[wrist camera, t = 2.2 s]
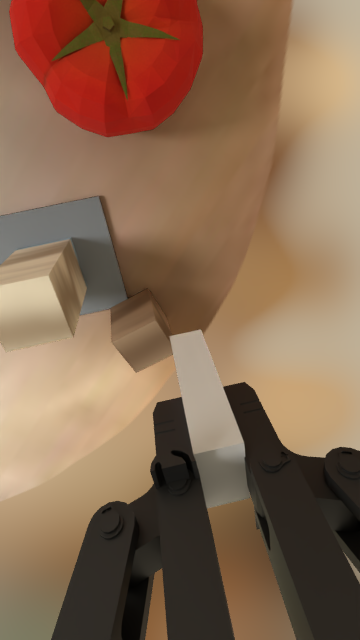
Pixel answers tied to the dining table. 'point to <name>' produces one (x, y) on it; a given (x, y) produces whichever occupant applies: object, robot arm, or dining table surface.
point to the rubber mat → (88, 239)
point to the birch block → (40, 295)
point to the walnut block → (140, 331)
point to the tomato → (111, 58)
